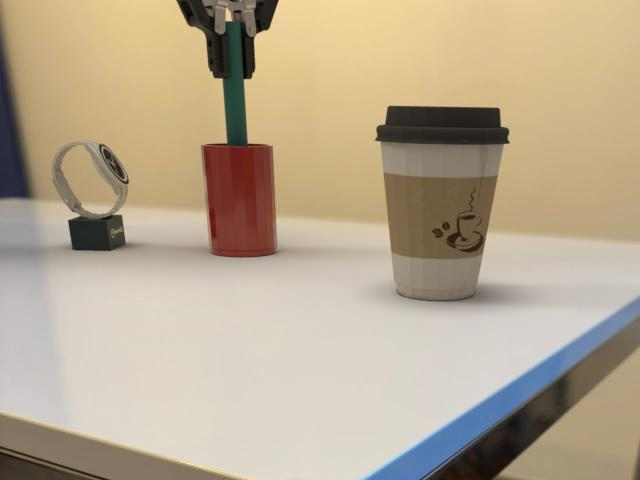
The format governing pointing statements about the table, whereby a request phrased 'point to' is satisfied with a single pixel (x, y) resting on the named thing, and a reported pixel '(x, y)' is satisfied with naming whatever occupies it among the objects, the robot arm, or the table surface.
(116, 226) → the watch
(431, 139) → the coffee cup
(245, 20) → the robot arm
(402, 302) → the table surface
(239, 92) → the straw
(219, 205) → the can
